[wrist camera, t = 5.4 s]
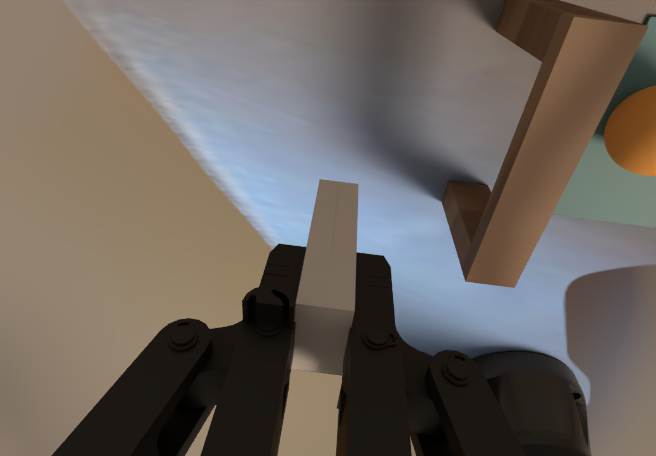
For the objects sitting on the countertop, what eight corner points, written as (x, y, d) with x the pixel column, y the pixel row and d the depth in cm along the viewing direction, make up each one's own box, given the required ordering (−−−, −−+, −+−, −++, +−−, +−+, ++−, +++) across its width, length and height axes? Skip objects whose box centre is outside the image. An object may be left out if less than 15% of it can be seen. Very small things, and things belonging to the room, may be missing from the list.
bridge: (558, 0, 23) (649, 25, 16) (479, 207, 32) (514, 287, 24) (507, -7, 23) (574, 16, 16) (441, 202, 32) (465, 281, 24)
